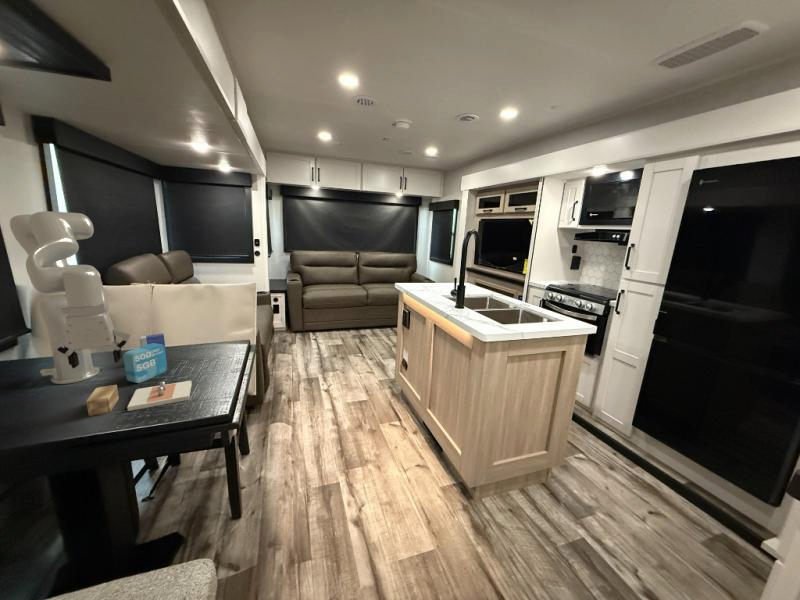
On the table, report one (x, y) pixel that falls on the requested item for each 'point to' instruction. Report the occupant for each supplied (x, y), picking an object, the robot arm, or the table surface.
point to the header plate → (151, 398)
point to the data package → (145, 362)
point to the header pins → (161, 388)
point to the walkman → (153, 340)
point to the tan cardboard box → (102, 400)
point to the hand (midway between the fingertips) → (97, 363)
